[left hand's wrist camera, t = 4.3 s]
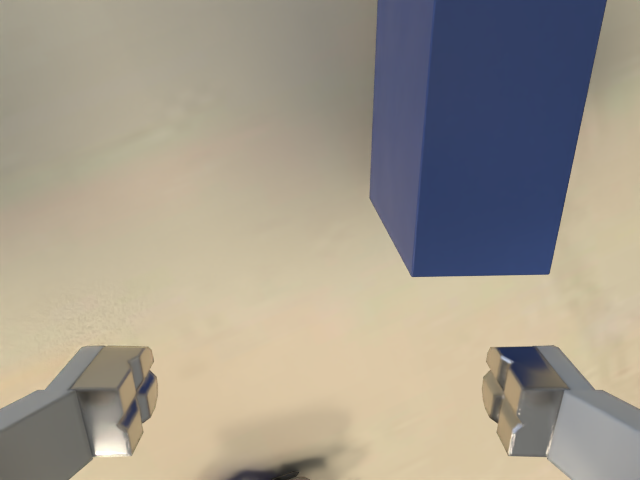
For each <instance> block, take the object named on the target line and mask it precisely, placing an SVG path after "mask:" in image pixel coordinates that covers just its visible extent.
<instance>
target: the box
mask: <svg viewBox="0 0 640 480" xmlns="http://www.w3.org/2000/svg"><path fill="white" fill-rule="evenodd" d="M606 2H607V0H378V7H377V31H376V55H375V79H374V103H373V127H372V151H371V175H370V200H371V202H372V204H373V205H374V207H375V209H376V211H377V213H378V215H379V217H380V219H381V220H382V222H383V224H384V226H385V228H386V230H387V232H388V234H389V235H390V237H391V239H392V241H393V243H394V245H395V247H396V249H397V250H398V252H399V254H400V256H401V258H402V260H403V262H404V264H405V265H406V267H407V269H408V271H409V273H410V275H411V276H412V277H437V276H492V275H548V274H549V273H550V269H551V264H552V259H553V255H554V250H555V245H556V240H557V235H558V231H559V226H560V221H561V216H562V212H563V207H564V202H565V197H566V193H567V188H568V183H569V178H570V173H571V169H572V164H573V159H574V154H575V150H576V145H577V140H578V135H579V131H580V126H581V121H582V116H583V111H584V107H585V102H586V97H587V92H588V88H589V83H590V78H591V73H592V69H593V64H594V59H595V54H596V49H597V45H598V40H599V35H600V30H601V26H602V21H603V16H604V11H605V7H606Z"/></svg>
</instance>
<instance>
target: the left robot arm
mask: <svg viewBox="0 0 640 480" xmlns="http://www.w3.org/2000/svg"><path fill="white" fill-rule="evenodd" d="M153 362H154V359H153V354H152V350H151V349H150V348H149V347H145V346H85V347H82V348H81V349H80V350H79V351H78V352H77V353H76V354H75V356H74V357H73V358H72V359H71V360H70V361H69V362H68V364H67V365H66V366H65V367H64V368H63V369H62V371H61V372H60V373H59V374H58V375H57V376H56V377H55V379H54V380H53V381H52V382H51V383H50V384H49V385H48V387H47V388H46V389H45V390H37V391H35V392H33V393H31V394H29V395H27V396H25V397H23V398H21V399H19V400H17V401H15V402H13V403H11V404H9V405H7V406H6V407H4V408H2V409H0V480H69V479H70V478H71V477H72V476H74V475H75V474H76V473H77V472H78V471H79V470H81V469H82V468H83V467H84V466H85V465H87V464H88V463H89V462H90V461H91V460H92V459H93V457H111V456H132V454H133V452H134V450H135V448H136V446H137V444H138V442H139V440H140V438H141V436H142V434H143V427H142V423H144V422H145V421H146V420H148V419H149V418H151V416H152V413H153V411H154V409H155V406H156V401H157V397H158V383H157V377H156V376H155V375H154V374H153V373H152V372H151V371H150V368H151V366H152V364H153ZM486 362H487V364H488V366H489V368H490V371H489V372H488V373H487V374H486V375H485V376H484V377H483V384H482V395H483V402H484V406H485V409H486V411H487V413H488V416H489V417H490V418H491V419H492V420H494V421H495V422H496V423H498V427H497V434H498V436H499V438H500V440H501V442H502V444H503V446H504V448H505V450H506V452H507V454H508V456H529V457H547V459H548V460H549V461H550V462H551V463H553V464H554V465H555V466H556V467H557V468H558V469H560V470H561V471H562V472H563V473H564V474H565V475H567V476H568V477H569V478H570V479H571V480H640V409H638V408H636V407H634V406H632V405H631V404H629V403H627V402H625V401H623V400H621V399H619V398H617V397H615V396H613V395H611V394H609V393H607V392H605V391H603V390H595V389H594V388H593V387H592V385H591V384H590V383H589V382H588V381H587V380H586V379H585V377H584V376H583V375H582V374H581V373H580V372H579V371H578V369H577V368H576V367H575V366H574V365H573V364H572V362H571V361H570V360H569V359H568V358H567V357H566V356H565V354H564V353H563V352H562V351H561V350H560V349H559V348H558V347H556V346H554V345H549V346H532V347H490V349H489V351H488V353H487V359H486Z"/></svg>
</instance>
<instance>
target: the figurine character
mask: <svg viewBox="0 0 640 480" xmlns="http://www.w3.org/2000/svg"><path fill="white" fill-rule="evenodd" d="M298 474H299V472H295V471H293V472H290V473H287V474H285V475H282V476H279V477H276V478H274V479H272V480H288V479H291V478H293V477H296V476H297V475H298ZM291 480H310V479H308V478H305V477H298V478H294V479H291Z"/></svg>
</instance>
